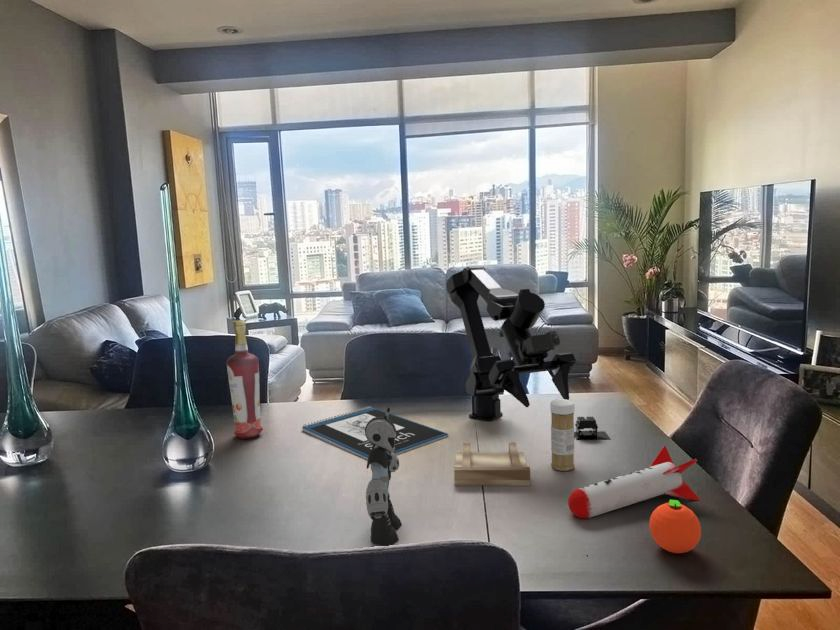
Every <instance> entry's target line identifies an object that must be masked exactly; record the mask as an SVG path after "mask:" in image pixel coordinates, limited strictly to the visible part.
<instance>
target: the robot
mask: <svg viewBox="0 0 840 630" xmlns="http://www.w3.org/2000/svg"><path fill="white" fill-rule="evenodd" d="M390 411H391V408H390V407H387V409H386V411H385V412H386V414H385V416H384V417H375V418H373V419H371V420H370V421H369V422H368V424H367V425H366V428H365V436H366V438H367V440H370V441H371V442H372V443H374V444H373V447H372V450H371V452H370V454H369V457H368V460H367V462H366V469H367V470H368V469H369V468H370V470H371V473H372V474H371V480H370V481H368V483H367V487H366V491H365V500H366V511H367V514H368V516H369V518H370V519H371V525H370V526H371V527H370V540H371V543H372V544H375V545H378V546H383V547H384V546H385V547H386V546H393V545H394V544H395V543H397V542H398V541H399V540H400V539H399V537H398V534H397V532H396V530H399V529H400V527H402V525H403V524H402V521H401V519H400V518H399V517H398V516H397V514H396V513H395V509H394V506H393V503H392V500H391V499H390V496H391V495H390V493H389V485H390V481H391V477H392V473H395V472H396V471H397V470H399V467H400V460H399V457H398V455H395V454H394V453H393V452H394V450H395V447H394V442H395V437H396V428H395V425H394V423H392V422H391V421H390V420H389V419H388V416H389V413H390Z"/></svg>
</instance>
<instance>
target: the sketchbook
mask: <svg viewBox="0 0 840 630" xmlns="http://www.w3.org/2000/svg"><path fill="white" fill-rule="evenodd" d="M385 414H386V411H385V410H382V409H378V408H375V407H372V406H369V405H368V406H366V407H362V408H359V409H356V410H351V411H348V412H345V413H341V414H336V415H334V416H331V417H328V418H323V419H319V420H316V421H313V422H310V423H307V424H303V425H302V427H301V429H302V430H301V431H302V432H304V433H307V434H308V435H311V436H313V437H315V438H317V439H320V440H322V441H325V442H326V443H329V444H331V445H334V446H335V447H338V448H341V449H343V450H344V451H347V452H348V453H352V454H353V455H356V456H358V457H360V458H363V459H365V460H367V461H368V457H369V454H370V452H371V450H372V447H373V444H374V443H372V442H371V441H370V440H367V438H366V436H365V428H366V425H367V424H368V422H369V421H370V420H371V419H373V418H375V417H384V416H385ZM388 419H389V420H390V421H391V422H392V423H394V425H395V428H396V437H395V442H394V447H395V450H394V452H393V453H394V454H395V455H396V456H398V455H400V454H403V453H406V452H409V451H411V450H414V449H417V448H419V447H422V446H425V445H428V444H430V443H433V442H436V441H439V440H441V439H444V438H447V437H449V433H447V432H444V431H442V430H439V429H436V428H433V427H431V426H427V425H424V424H423V423H419V422H416V421H413V420H411V419H407V418H405V417H401V416H398V415H395V414H393V413H390V412H389V416H388Z"/></svg>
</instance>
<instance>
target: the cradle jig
mask: <svg viewBox="0 0 840 630" xmlns="http://www.w3.org/2000/svg"><path fill="white" fill-rule="evenodd" d="M530 468H531V467H530V466H528V464H527V462H526V457H525V453H524V451H519V450H518V446H517V442H508V451H471V442H463V443H462V451H457V452H455V466H454V469H453V470H454V471H453V472H454V474H453V476H454V486H531V469H530Z"/></svg>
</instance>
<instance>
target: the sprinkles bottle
mask: <svg viewBox="0 0 840 630" xmlns="http://www.w3.org/2000/svg"><path fill="white" fill-rule="evenodd" d="M549 405H550V406H549V408H550V413H551V414H550V415H551V423H550V425H551V426H550V442H551V443H550V445H551V447H550V449H551V463H550V465H551V468H552V469H554V470H557V471H561V472H567V471H571V470H573V469H574V468H575V464H574V463H575V459H574V454H575V440H574V432H575V423H574V420H575V418H574V416H575V415H574V414H575V402H574V401H572V400H571V399H569V400H566V399H563V398H560V399H559V398H558V399H553V400H551V401H550V404H549Z"/></svg>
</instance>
